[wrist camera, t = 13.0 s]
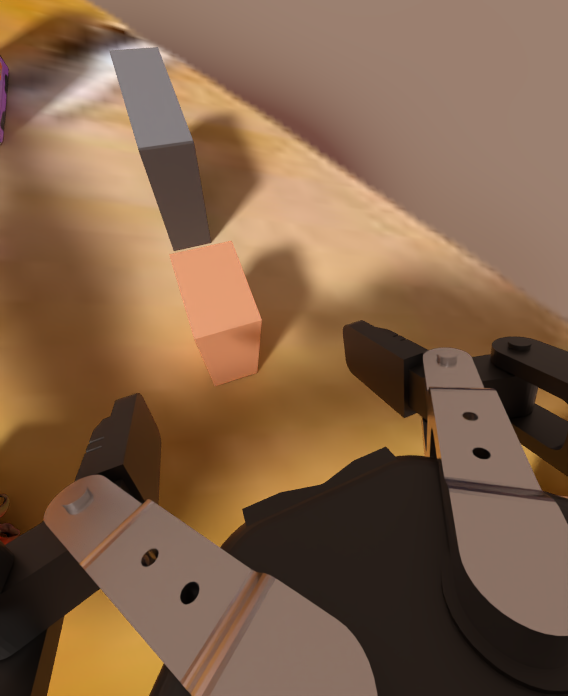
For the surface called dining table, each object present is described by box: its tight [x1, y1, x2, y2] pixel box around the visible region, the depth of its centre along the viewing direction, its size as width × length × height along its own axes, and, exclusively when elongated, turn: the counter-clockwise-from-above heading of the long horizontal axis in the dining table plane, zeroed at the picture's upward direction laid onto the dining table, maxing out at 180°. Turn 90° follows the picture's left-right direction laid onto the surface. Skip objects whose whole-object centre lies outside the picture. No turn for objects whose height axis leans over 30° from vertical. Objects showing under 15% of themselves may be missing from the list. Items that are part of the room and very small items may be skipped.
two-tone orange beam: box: [169, 241, 262, 386], centre depth 23 cm, size 6×4×11 cm
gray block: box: [110, 47, 211, 251], centre depth 29 cm, size 12×4×11 cm, turn 21°
